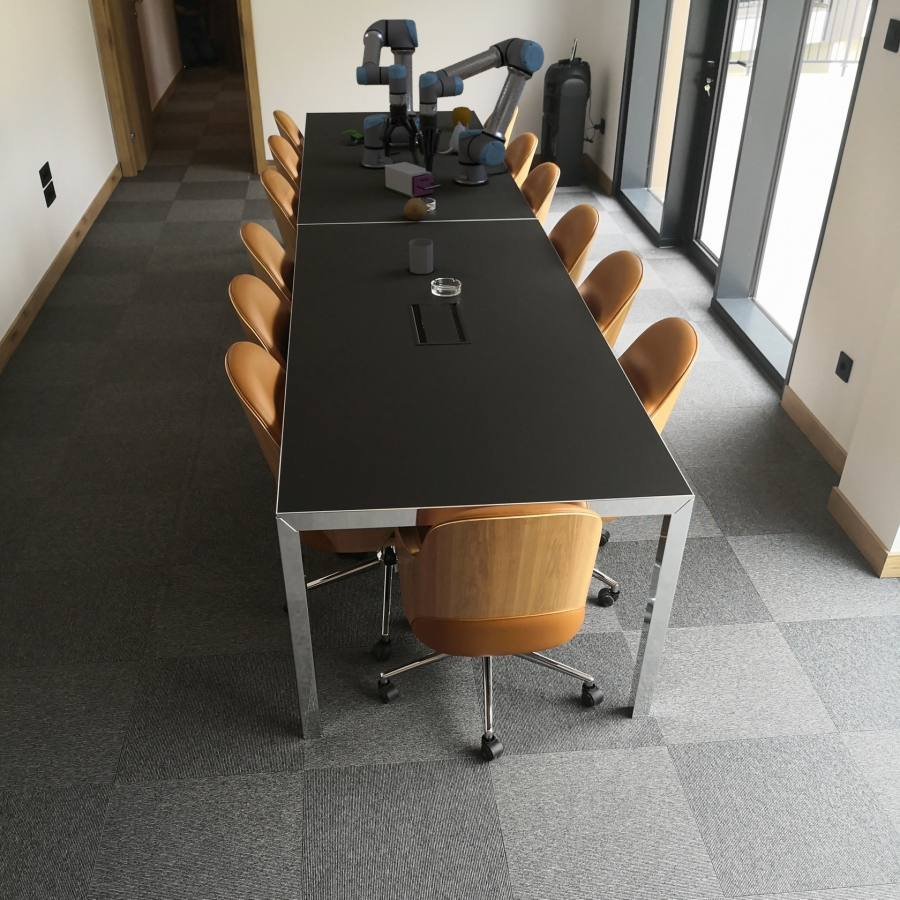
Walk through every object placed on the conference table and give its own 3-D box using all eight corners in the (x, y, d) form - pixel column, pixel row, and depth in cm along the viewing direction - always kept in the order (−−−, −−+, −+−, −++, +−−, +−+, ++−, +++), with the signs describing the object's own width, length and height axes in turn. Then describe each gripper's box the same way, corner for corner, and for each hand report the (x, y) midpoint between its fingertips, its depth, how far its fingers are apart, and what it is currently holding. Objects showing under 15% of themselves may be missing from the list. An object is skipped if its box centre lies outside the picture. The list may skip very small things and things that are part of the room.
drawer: (441, 195, 382) (441, 177, 377) (423, 199, 376) (423, 181, 372) (409, 183, 397) (409, 166, 393) (392, 187, 391) (391, 169, 387)
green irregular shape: (396, 126, 467) (340, 124, 465) (396, 141, 460) (339, 139, 458) (396, 136, 472) (341, 134, 470) (396, 151, 465) (340, 149, 463)
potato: (426, 213, 362) (426, 194, 358) (428, 224, 351) (428, 204, 346) (403, 213, 362) (402, 194, 358) (404, 224, 350) (403, 205, 346)
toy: (474, 152, 449) (475, 122, 441) (443, 160, 434) (443, 129, 426) (462, 149, 454) (462, 119, 446) (430, 157, 439) (430, 126, 431)
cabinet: (430, 192, 388) (430, 170, 383) (410, 197, 382) (410, 174, 377) (405, 183, 400) (405, 161, 395) (385, 188, 394) (384, 165, 389)
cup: (409, 265, 311) (408, 238, 306) (432, 265, 312) (431, 238, 307) (410, 274, 304) (409, 246, 299) (433, 273, 305) (433, 246, 299)
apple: (471, 132, 486) (471, 108, 479) (451, 132, 486) (451, 108, 479) (470, 128, 495) (471, 104, 488) (452, 128, 495) (452, 104, 488)
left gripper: (379, 109, 366) (381, 160, 378) (426, 101, 379) (426, 151, 391) (369, 106, 371) (371, 157, 382) (415, 99, 384) (416, 148, 396)
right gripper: (421, 117, 356) (422, 175, 369) (446, 113, 363) (446, 170, 376) (410, 114, 361) (411, 171, 374) (434, 110, 368) (435, 166, 381)
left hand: (399, 154), depth 387 cm, fingers open, 13 cm apart
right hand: (429, 171), depth 375 cm, fingers closed
